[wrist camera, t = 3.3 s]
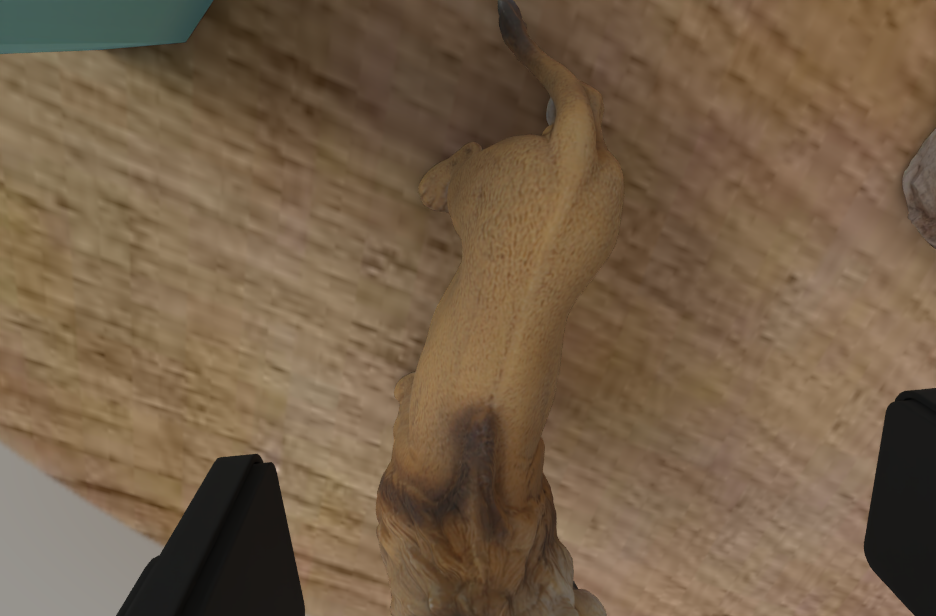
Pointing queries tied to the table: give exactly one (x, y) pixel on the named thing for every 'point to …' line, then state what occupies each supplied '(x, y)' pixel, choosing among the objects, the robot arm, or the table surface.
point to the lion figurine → (499, 363)
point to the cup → (95, 24)
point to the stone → (922, 189)
